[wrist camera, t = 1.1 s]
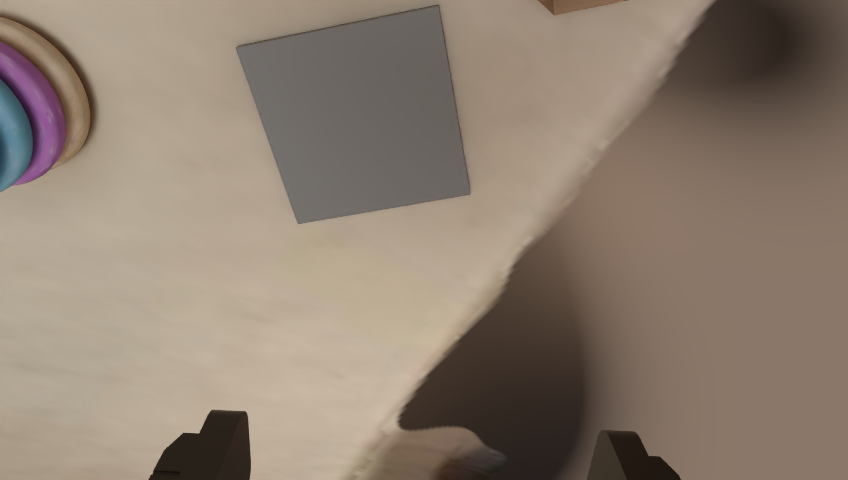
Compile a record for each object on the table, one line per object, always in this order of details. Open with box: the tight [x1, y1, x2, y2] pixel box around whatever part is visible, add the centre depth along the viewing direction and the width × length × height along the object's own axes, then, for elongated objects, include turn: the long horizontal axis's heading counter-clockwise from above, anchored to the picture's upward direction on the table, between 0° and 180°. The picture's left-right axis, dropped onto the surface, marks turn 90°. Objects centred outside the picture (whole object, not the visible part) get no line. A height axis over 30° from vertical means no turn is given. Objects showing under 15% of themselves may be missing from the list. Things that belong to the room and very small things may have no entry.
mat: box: [236, 5, 470, 224], centre depth 30 cm, size 10×10×1 cm
